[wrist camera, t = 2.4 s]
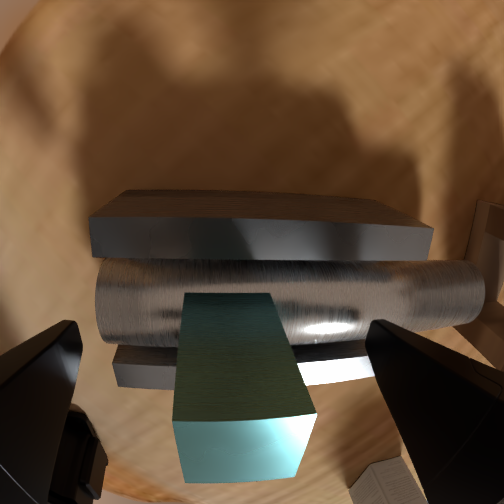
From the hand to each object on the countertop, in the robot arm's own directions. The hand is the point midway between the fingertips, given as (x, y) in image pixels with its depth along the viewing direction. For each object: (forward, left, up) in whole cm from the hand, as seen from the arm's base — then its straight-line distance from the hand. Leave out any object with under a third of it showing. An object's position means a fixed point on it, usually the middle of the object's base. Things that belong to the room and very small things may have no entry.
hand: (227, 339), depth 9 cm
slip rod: (+4, 0, -3) cm, 5 cm away
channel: (+2, 0, -6) cm, 6 cm away
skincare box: (+16, -24, -6) cm, 29 cm away
